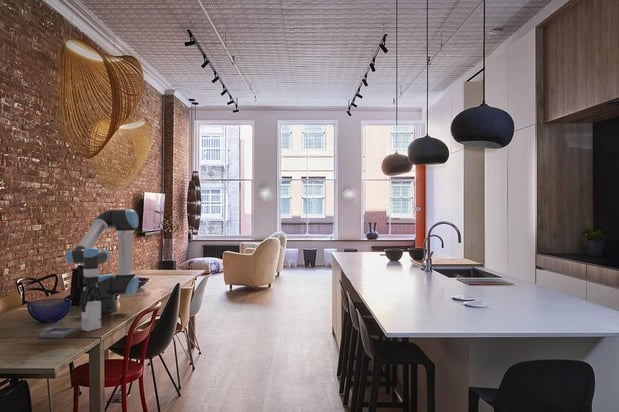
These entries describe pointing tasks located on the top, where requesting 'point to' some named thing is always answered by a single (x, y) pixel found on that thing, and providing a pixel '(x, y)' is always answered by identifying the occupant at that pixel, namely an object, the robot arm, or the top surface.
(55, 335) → the tray
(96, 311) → the skincare box
